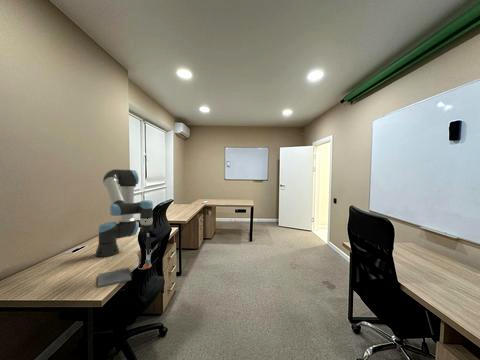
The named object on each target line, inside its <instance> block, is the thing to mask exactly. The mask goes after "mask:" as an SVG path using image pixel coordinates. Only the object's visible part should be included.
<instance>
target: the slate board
mask: <svg viewBox="0 0 480 360" xmlns="http://www.w3.org/2000/svg"><path fill="white" fill-rule="evenodd" d="M128 281H132V276H131V272H130V268H129V267H128V268H123V269H121V268H120V269H117V270H113V271H106V272H102V273H101V272H100V273H98V277H97V288H103V287H107V286H111V285H115V284H120V283H124V282H128Z"/></svg>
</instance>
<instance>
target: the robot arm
mask: <svg viewBox="0 0 480 360" xmlns="http://www.w3.org/2000/svg"><path fill="white" fill-rule="evenodd" d="M102 181H103V182H102V183H103V185H104V187H106V190H107V192H108V195H109V199H110V202H111V204H110V206H109V214H110V215H111V217H116V216H117V217H119V216H121V217H120V219H119V221H118V222H116V221H108V222H105V223H102V224H100V225H99V227H98V231H97V232H98V245H97V247H96V250H95V257H97V258H107V257H113V256H116V255H118V254H119V253H120V248H119V246H118V244H117V240H118V239H123V238H130V237H134V236H136V235H137V233H138V230H139V231H140V230H141V227H142V226H143V225H144V227H143V228H144V230H145V235H146V249H145V250H146V260H150V261H151V257H150V250H152V244H151V232H150V231H152V230H153V213H154V212H153V209H154V207H153V206H154V205H153V203H154V202H153V201H152V200H140V201H138V202H134V200H135V199H134V198H135V197H134V195H135V192H134V191H135V190H134V189H135V188H136V187H137V185H138V184H139V181H140V179H139V174H138V172H137V170H135V169H134V170H133V169H118V168H117V169H112V170H108V172H106V173H105V175H104V176H103V179H102ZM137 214H138V215H139V220H138V221H139V223H138V221H137V220H136V218H135V217H134V215H137ZM147 218H148V219H147ZM145 221H146V222H145ZM139 224H140V225H139Z"/></svg>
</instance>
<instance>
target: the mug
mask: <svg viewBox="0 0 480 360" xmlns="http://www.w3.org/2000/svg"><path fill="white" fill-rule="evenodd" d="M141 250H142V249H141ZM141 250H138V251H137V252H136V255H137V257H138V265H137V269H138V270H139V271H140V270H141V271H143V270H147V269H150V268H151V267H152V263H151V259H150V260H145V264H144V265H143V267H142V268H139V266H140V264H141ZM150 250H151V252H150V258H151V256H152V253H153V249H150Z"/></svg>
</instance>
